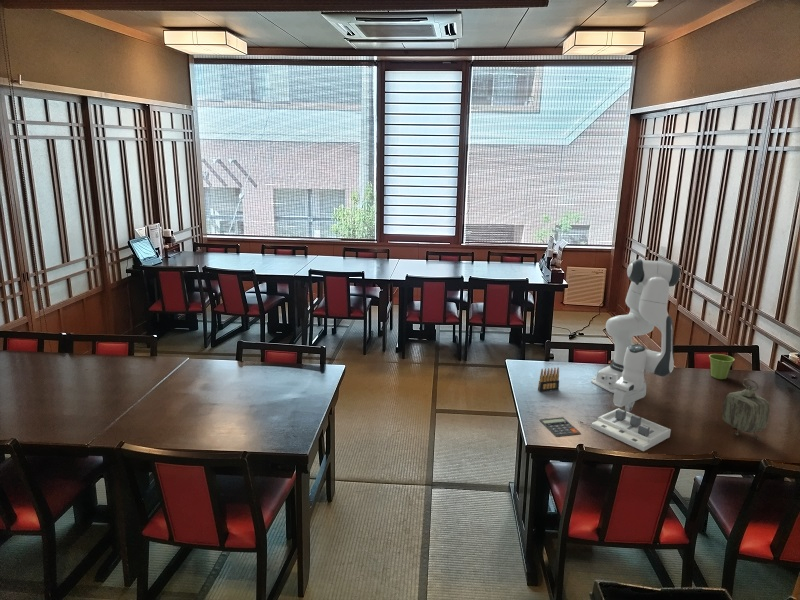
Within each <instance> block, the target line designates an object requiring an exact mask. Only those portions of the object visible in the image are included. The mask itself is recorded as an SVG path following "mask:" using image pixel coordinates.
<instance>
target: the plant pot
mask: <svg viewBox="0 0 800 600" xmlns="http://www.w3.org/2000/svg"><path fill="white" fill-rule="evenodd" d="M708 357H709V361H710V362H709V363H710V376H711V377H712V378H714V379H718V380H726V379H727V377H728V374H729V373H730V369H731V367H732V365H733V362H734V361H735V358H734V357H732V356H730V355H726V354H721V353H720V354H719V353H711V354H709V355H708Z"/></svg>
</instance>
